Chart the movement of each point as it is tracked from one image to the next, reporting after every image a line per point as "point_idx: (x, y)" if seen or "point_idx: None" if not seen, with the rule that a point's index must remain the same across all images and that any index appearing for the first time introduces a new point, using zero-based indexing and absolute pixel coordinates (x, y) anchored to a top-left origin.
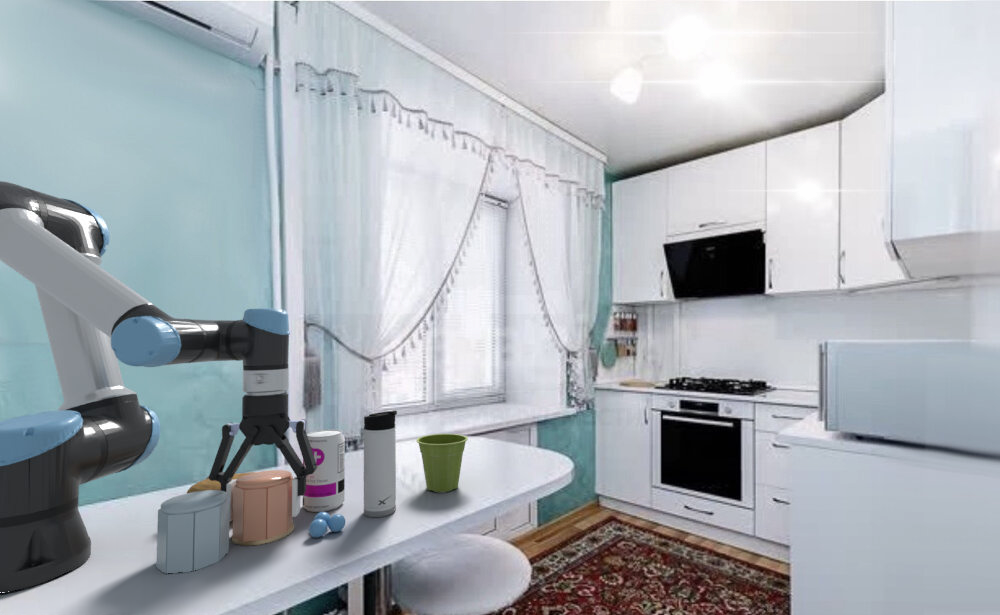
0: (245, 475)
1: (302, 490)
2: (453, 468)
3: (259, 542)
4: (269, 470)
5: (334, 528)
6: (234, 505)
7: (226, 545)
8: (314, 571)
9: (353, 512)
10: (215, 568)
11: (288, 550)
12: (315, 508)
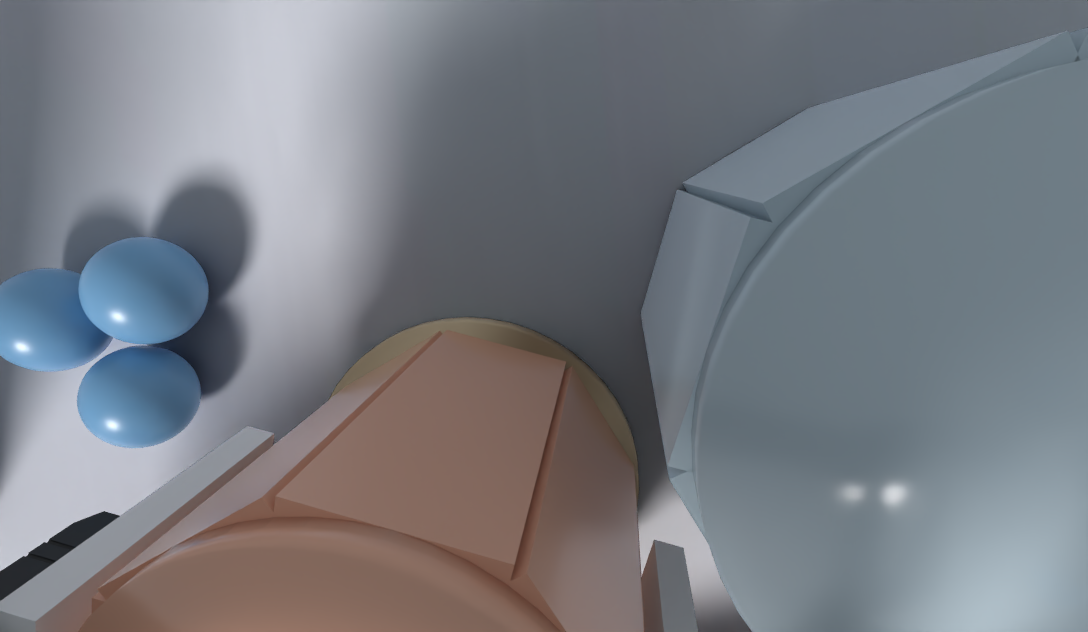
0: None
1: (69, 539)
2: None
3: (480, 321)
4: None
5: (70, 272)
6: (631, 583)
7: (653, 292)
8: None
9: (49, 526)
10: (691, 95)
11: (320, 165)
12: None
